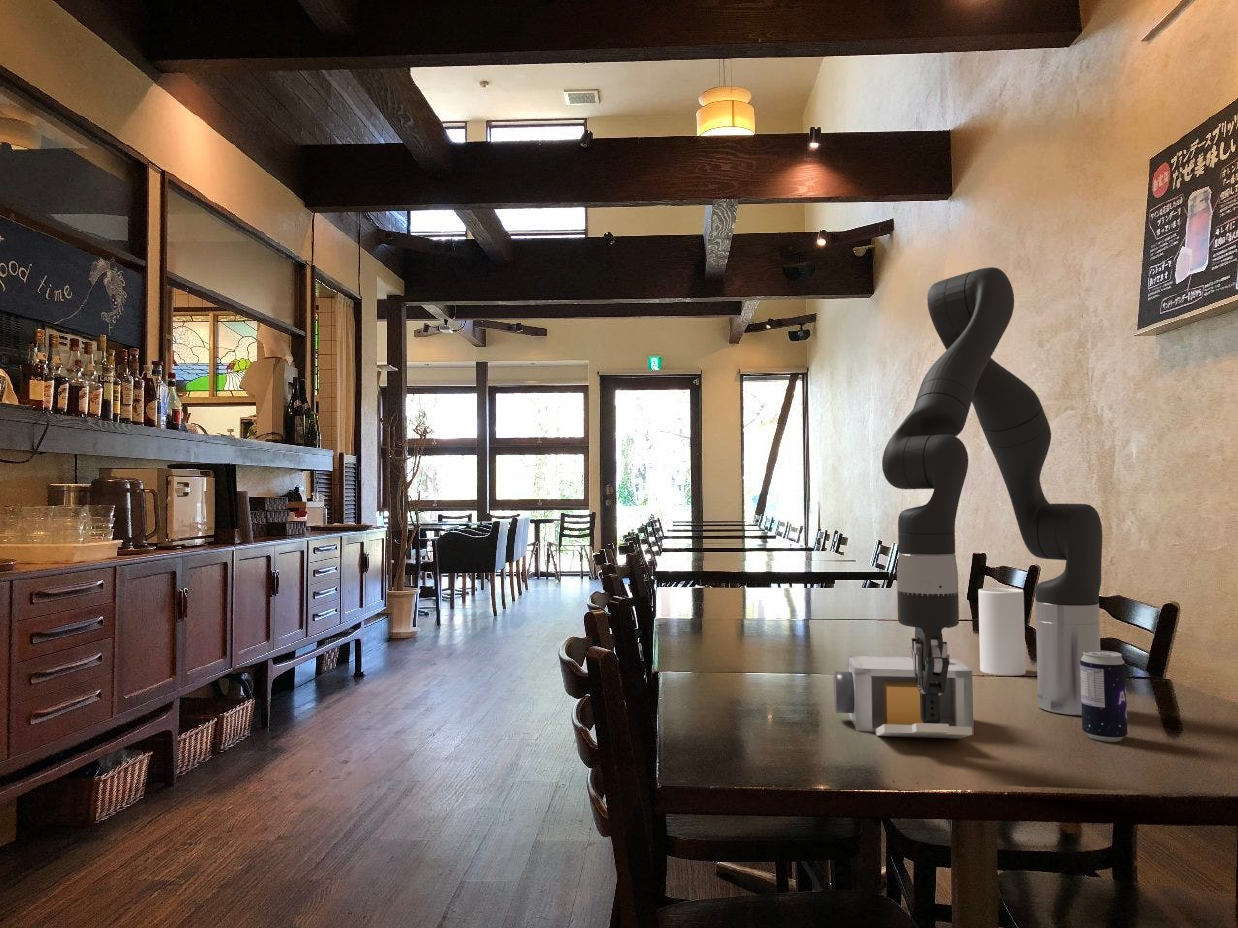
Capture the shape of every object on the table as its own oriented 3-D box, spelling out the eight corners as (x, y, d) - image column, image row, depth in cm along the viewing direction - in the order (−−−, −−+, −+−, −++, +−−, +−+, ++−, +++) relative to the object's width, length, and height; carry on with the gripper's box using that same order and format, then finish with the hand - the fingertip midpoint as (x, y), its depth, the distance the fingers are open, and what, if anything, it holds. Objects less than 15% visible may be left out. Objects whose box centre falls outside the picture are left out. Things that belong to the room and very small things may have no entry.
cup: (1028, 670, 174) (1026, 589, 175) (1022, 677, 167) (1020, 593, 168) (984, 666, 178) (982, 587, 179) (976, 673, 171) (974, 590, 172)
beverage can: (1126, 745, 121) (1124, 658, 122) (1080, 739, 124) (1078, 654, 125) (1128, 735, 126) (1125, 651, 126) (1084, 730, 129) (1081, 648, 129)
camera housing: (957, 724, 133) (955, 650, 133) (973, 742, 123) (972, 662, 123) (833, 720, 136) (831, 647, 136) (839, 738, 126) (838, 659, 126)
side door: (955, 731, 123) (977, 723, 111) (956, 740, 123) (978, 733, 110) (874, 728, 125) (887, 721, 113) (875, 737, 124) (888, 730, 112)
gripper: (969, 594, 107) (973, 737, 106) (946, 583, 120) (949, 711, 119) (906, 593, 108) (908, 735, 107) (890, 583, 121) (892, 710, 120)
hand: (930, 722), depth 113 cm, fingers closed
